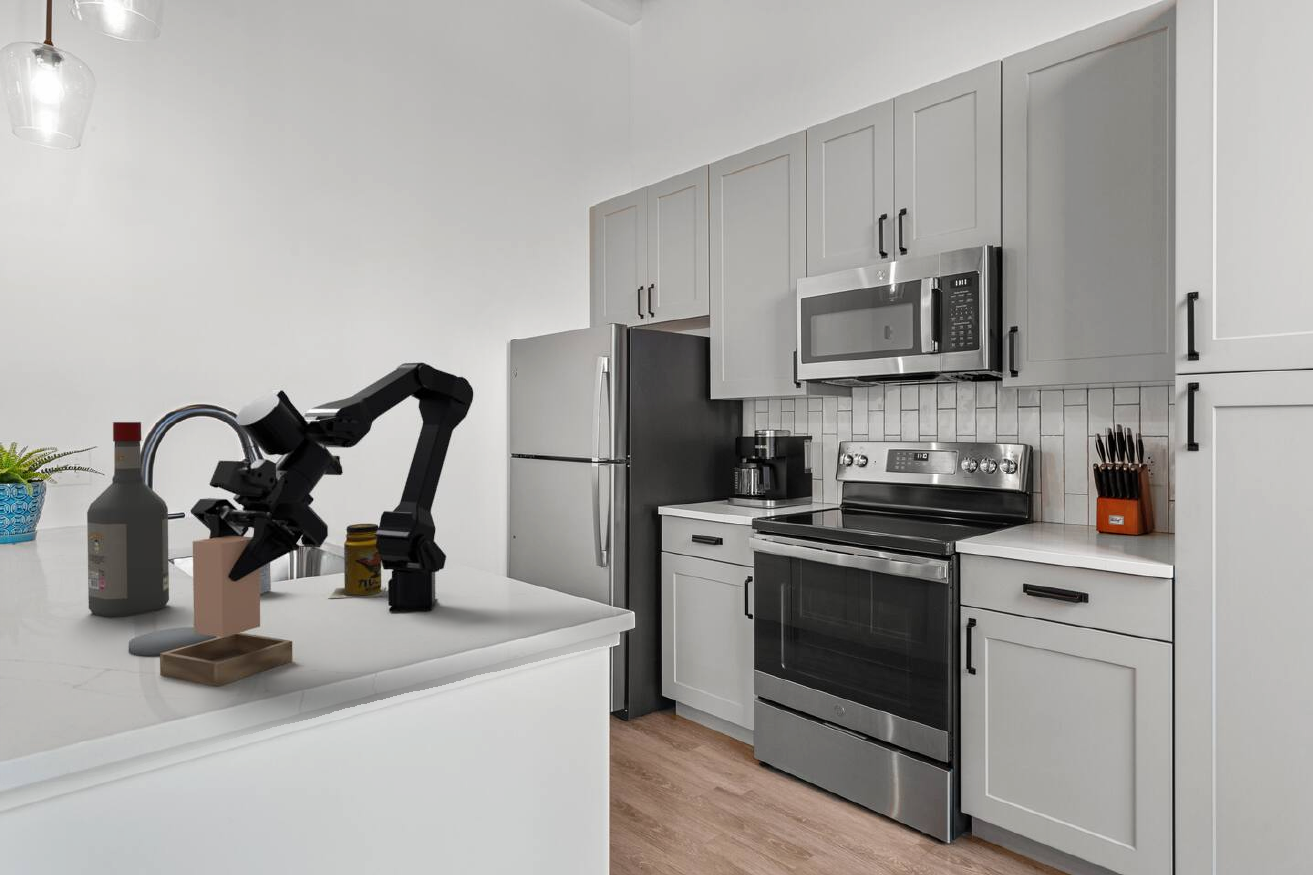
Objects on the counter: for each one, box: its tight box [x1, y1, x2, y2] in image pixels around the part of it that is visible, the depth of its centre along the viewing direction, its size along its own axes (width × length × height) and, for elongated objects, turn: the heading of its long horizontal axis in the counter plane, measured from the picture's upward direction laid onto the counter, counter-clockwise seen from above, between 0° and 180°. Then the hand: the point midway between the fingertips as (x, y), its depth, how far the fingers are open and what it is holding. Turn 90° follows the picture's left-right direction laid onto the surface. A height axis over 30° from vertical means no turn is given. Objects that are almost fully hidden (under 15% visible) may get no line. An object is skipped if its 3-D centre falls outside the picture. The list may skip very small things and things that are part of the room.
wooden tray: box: [159, 632, 293, 687], centre depth 92 cm, size 10×10×2 cm
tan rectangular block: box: [192, 535, 261, 638], centre depth 91 cm, size 5×5×11 cm
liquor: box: [86, 421, 170, 618], centre depth 120 cm, size 9×9×30 cm
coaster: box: [128, 626, 218, 656], centre depth 101 cm, size 10×10×1 cm
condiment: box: [328, 523, 386, 599], centre depth 132 cm, size 7×8×12 cm
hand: (216, 577), depth 90 cm, fingers closed on tan rectangular block, 5 cm apart
